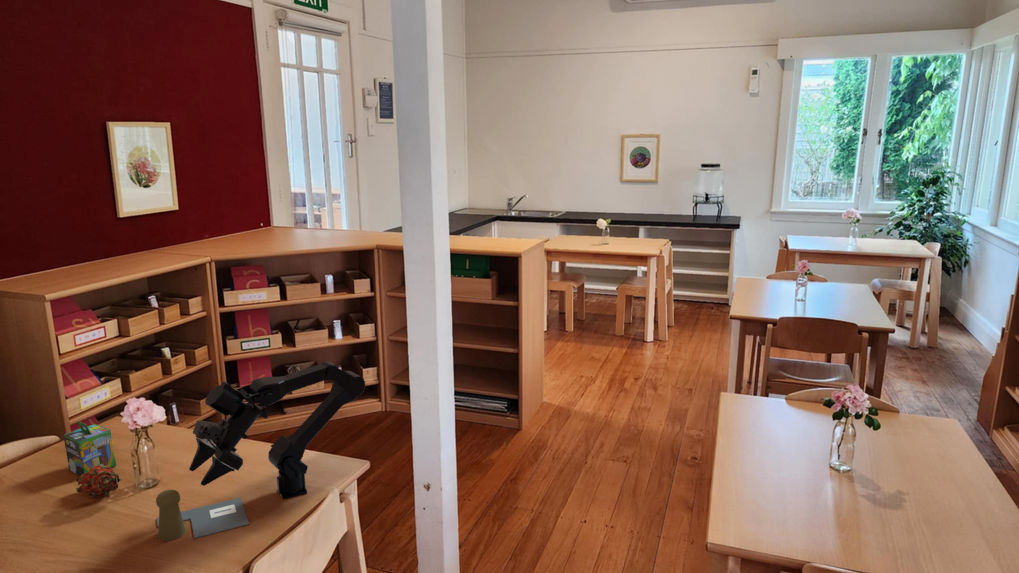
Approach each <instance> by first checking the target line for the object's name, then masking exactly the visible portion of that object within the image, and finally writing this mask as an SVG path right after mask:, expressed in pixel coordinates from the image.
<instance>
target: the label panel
mask: <svg viewBox="0 0 1019 573" xmlns="http://www.w3.org/2000/svg"><path fill="white" fill-rule="evenodd" d="M181 515H182V518H183V522H186V521H190V522H191V528H192V533H193V539H194V540H196V539H200V538H203V537H207V536H211V535H214V534H218V533H222V532H226V531H230V530H234V529H238V528H242V527H246V526H249V525H250V523H249V520H248V519H249V518H248V516H247V514H246V510H245V507H244V504H243V500H242V498H241V497H236V498H233V499H228V500H224V501H220V502H215V503H212V504H208V505H207V504H206V505H204V506H199V507H195V508H191V509H186V510H183V511H181ZM156 525H157V528H159V516H157V517H156Z"/></svg>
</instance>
